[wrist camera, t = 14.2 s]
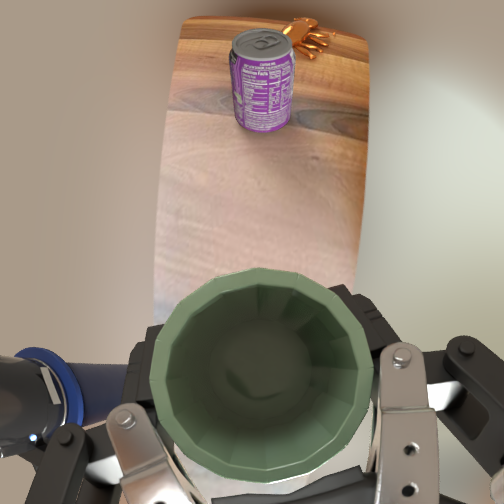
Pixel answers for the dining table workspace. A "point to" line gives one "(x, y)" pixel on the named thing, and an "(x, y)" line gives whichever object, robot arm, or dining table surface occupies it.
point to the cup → (261, 375)
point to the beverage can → (262, 79)
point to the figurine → (304, 35)
